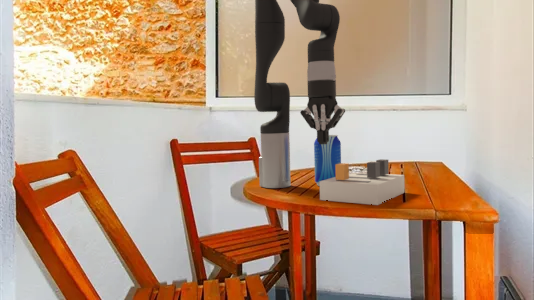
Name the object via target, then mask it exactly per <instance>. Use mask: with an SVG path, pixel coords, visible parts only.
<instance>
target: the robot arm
mask: <svg viewBox="0 0 534 300" xmlns="http://www.w3.org/2000/svg"><path fill="white" fill-rule="evenodd" d="M289 1H290V2H291V3H292V4H293V6H294V8H295V9H296V13H297V15H298V16H297V17H298V20H299V22H300V25H301V26H302V27H303V28H304V29H307V31H308V30H309V31H316V32H318V31H319V32H320V35H319V36H318V39H312V40H310V41H309V42H308V44H307V73H306V75H307V76H306V77H307V78H306V79H307V81H306V82H307V98H308V101H307V105H306V107H305V108H304V109H303V110H300V115H301V116H302V118H303V119H304V120H305V121H306V123H307V125H308V126H309V127H310V128H311V129H314V130H315V131H316V138H317V141H318V142H319V144H327V142H328V141H329V135H330V132H329V131H330V130H331V129H332V128H335V127H336V126H337V124H338V123H339V121H340V120H341V119H342V117H343V115H344V114H345V113H346V109H345V108H342V107H340V105H338V101H337V80H336V79H337V74H336V65H335V45H336V44H335V43H336V39H337V35H338V30H339V26H340V23H341V21H340V19H341V17H340V12H339V10H338V9H337V7H336V6H335V5H332V4H329V3H321V2H320V0H289ZM254 4H255V5H254V7H255V8H254V11H255V14H254V15H255V16H254V20H255V21H254V35H255V36H254V39H255V75H254V76H255V77H254V78H255V80H254V98H253V99H254V105H255V109H256V111H258V112H259V113H260V112H261V113H265V112H267V113H273V112H274V113H275V112H276V115H275V117H273V118H272V119H270V120H269V121H266V122H265V123H262V124H261V125H260V127H259V131H260V155H261V156H259V157H258V172H259V173H258V176H259V177H258V178H259V187H262V188H265V189H266V188H267V189H280V188H281V189H282V188H283V189H285V188H289V187H291V185H292V184H291V181H292V180H291V148H290V146H291V145H290V143H291V142H290V119H291V117H290V115H291V114H290V111H291V110H290V109H291V108H290V107H291V106H290V105H291V92H290V87H289V85H288V84H287V83H286V82H268V74H269V71H270V68H271V65H272V63H273V62H274V60H275V58H276V56H277V55H278V53H279V51H280V50H281V48H282V47H283V44H284V42H285V38H286V37H285V35H286V31H285V30H286V29H285V28H286V21H285V20H286V19H285V15H284V12H283V10H282V8H281V6H280V5H279V2H278V1H277V0H254ZM332 115H333V116H332Z"/></svg>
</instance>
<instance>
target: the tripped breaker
mask: <svg viewBox="0 0 534 300" xmlns="http://www.w3.org/2000/svg"><path fill="white" fill-rule="evenodd" d="M335 170H336V180H346V179H349V173H350V171H349V170H350V167H349V163H342V162H341V163H340V164H335Z"/></svg>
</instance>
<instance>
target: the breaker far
mask: <svg viewBox="0 0 534 300" xmlns="http://www.w3.org/2000/svg"><path fill="white" fill-rule="evenodd" d="M375 162H380V175H386V174H389V159H376V160H375Z"/></svg>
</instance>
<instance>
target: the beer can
mask: <svg viewBox="0 0 534 300" xmlns="http://www.w3.org/2000/svg"><path fill="white" fill-rule="evenodd" d="M338 136H339V135H337V134H329V141H328V142H327V144H319V142H318V141H317V137H316V139H315V140H314V141H313V150H314V151H313V152H314V153H313V156H314V157H313V158H314V159H313V160H314V182H315V183H316V184H317V186H318V187H320V181H323V180H326V179H330V178H333V177H336V170H335V164H340V163H342V152H341V151H342V149H341V148H342V147H341V146H342V145H341V144H342V143H341V140H340V139H339V138H338Z"/></svg>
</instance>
